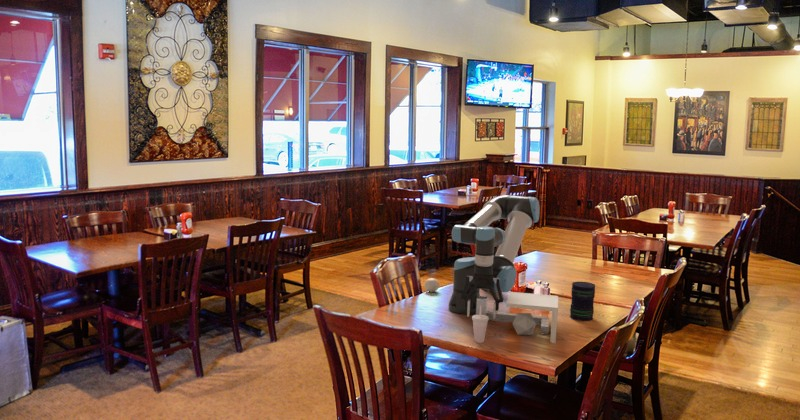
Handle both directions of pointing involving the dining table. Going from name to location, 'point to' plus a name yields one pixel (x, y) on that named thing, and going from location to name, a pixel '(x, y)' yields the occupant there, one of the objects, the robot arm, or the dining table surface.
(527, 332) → the die
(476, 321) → the smoothie
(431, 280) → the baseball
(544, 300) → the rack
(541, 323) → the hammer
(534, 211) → the robot arm
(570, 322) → the dining table surface
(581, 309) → the storage jar
